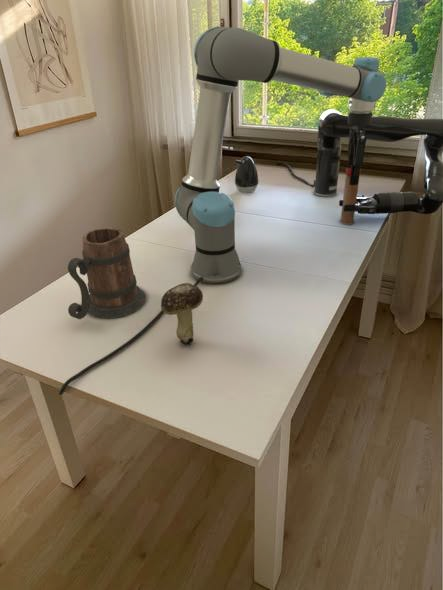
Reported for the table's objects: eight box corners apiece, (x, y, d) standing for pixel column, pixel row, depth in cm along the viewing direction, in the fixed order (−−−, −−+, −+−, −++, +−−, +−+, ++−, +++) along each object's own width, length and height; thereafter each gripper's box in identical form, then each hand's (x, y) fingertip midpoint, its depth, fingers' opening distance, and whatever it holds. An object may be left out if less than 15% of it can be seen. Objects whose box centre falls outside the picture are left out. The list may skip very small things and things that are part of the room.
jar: (340, 223, 163) (346, 173, 153) (340, 219, 166) (346, 169, 156) (353, 224, 162) (360, 174, 151) (353, 219, 165) (360, 170, 155)
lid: (355, 171, 157) (356, 166, 156) (362, 176, 153) (363, 170, 152) (343, 173, 156) (343, 168, 155) (349, 177, 152) (350, 172, 151)
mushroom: (205, 329, 111) (202, 278, 102) (206, 352, 103) (202, 298, 95) (168, 331, 110) (161, 279, 102) (165, 354, 103) (158, 300, 95)
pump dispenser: (230, 190, 197) (229, 155, 189) (251, 186, 201) (251, 151, 193) (241, 196, 189) (240, 161, 181) (262, 192, 193) (263, 157, 185)
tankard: (113, 279, 133) (101, 217, 123) (158, 293, 126) (149, 228, 115) (52, 320, 116) (32, 252, 106) (99, 339, 109) (83, 267, 98)
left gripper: (343, 106, 151) (336, 174, 164) (355, 117, 136) (346, 190, 148) (365, 106, 151) (356, 173, 163) (380, 116, 136) (369, 190, 148)
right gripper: (393, 220, 157) (346, 223, 156) (379, 205, 169) (334, 208, 168) (397, 199, 153) (348, 202, 152) (382, 186, 165) (336, 188, 164)
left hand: (351, 181), depth 156 cm, fingers closed on lid, 5 cm apart
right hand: (341, 205), depth 160 cm, fingers closed on jar, 4 cm apart
